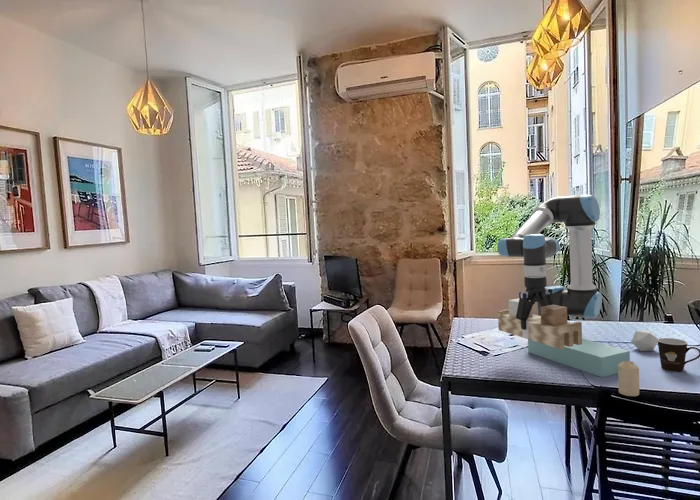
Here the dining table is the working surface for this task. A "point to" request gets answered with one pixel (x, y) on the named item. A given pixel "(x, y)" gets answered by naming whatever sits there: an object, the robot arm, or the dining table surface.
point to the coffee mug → (673, 354)
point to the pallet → (542, 330)
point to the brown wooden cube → (554, 315)
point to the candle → (628, 378)
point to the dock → (584, 356)
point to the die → (644, 340)
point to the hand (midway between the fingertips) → (537, 335)
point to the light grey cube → (515, 307)
